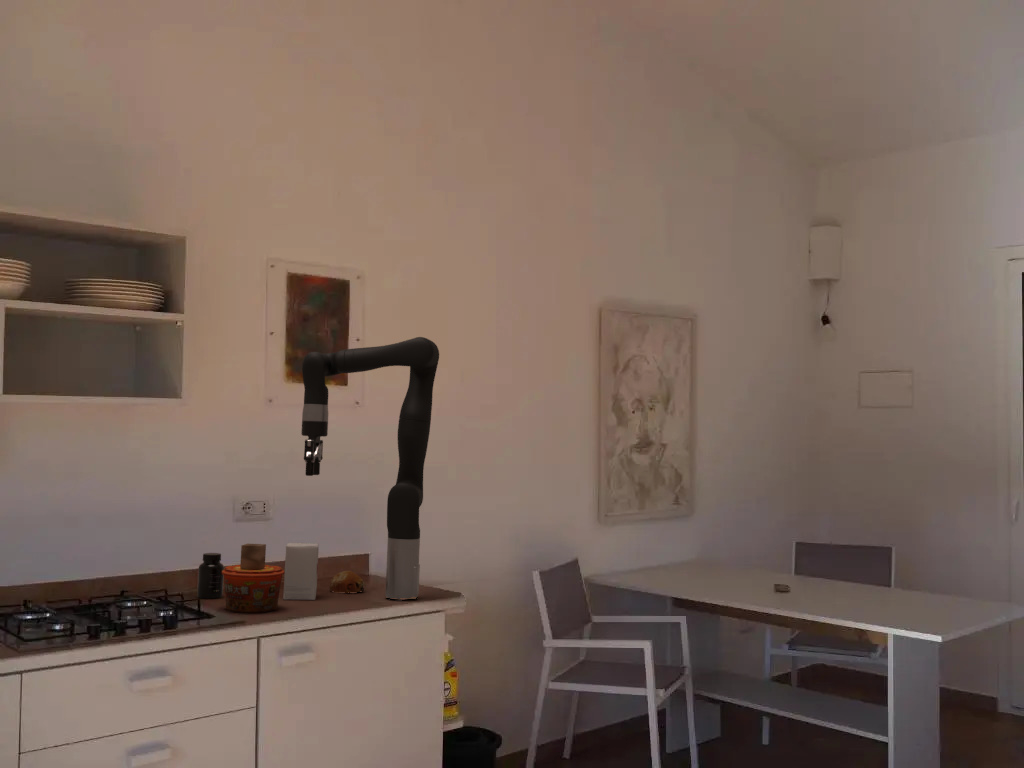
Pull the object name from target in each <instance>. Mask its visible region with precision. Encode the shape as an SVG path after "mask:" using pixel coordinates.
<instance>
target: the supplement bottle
mask: <svg viewBox="0 0 1024 768" xmlns="http://www.w3.org/2000/svg"><path fill="white" fill-rule="evenodd" d="M202 561H203V562H202V563H200V564H199V566H198V573H197V574H198V576H197V590H196V591H197V593H196V594H197V598H199V599H201V600H216V599H221V598H222V597H223V595H224V575H222V571H223V570H224V569H225V566H224V564H222V563H221V561H222V554H221V553H219V552H206V553H203V554H202Z"/></svg>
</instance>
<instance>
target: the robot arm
mask: <svg viewBox="0 0 1024 768" xmlns="http://www.w3.org/2000/svg"><path fill="white" fill-rule="evenodd" d="M438 347H439V346H437V343H435V342H433V340H431V339H429V338H426V337H423V336H418V337H413V338H411V339H406V340H404V341H399V342H396V343H392V344H385V345H380V346H367V347H356V348H348V349H341V350H338V351H335V352H328V353H324V352H319V351H310V352H308V353H307V354H305V356H304V357H303V360H302V366H301V367H302V368H301V371H302V373H301V374H302V381H303V385H304V395H303V408H302V413H301V436H303V437H308V438H307V439H305V440H304V452H303V461H304V462H305V474H304V475H305V476H308V477H309V476H310V477H313V476H320V474H321V473H320V471H321V462H322V460H323V453H324V452H323V447H324V440H323V439H321V437H328V428H329V387H328V386H327V385H326V377H331V376H337V375H340V374H353V373H361V372H368V371H373V370H376V369H381V368H386V367H396V366H398V367H409V380H408V381H409V383H408V387H407V390H406V394H405V397H404V398H403V401H402V405H401V407H400V412H399V416H398V417H399V418H398V425H397V450H398V461H399V462H398V471H397V476H396V480H395V481H396V482H395V484H394V485H393V486H392V487H391V488H390V490H389V491H388V494H387V501H386V502H387V504H386V505H387V506H386V529H387V548H386V549H387V550H386V568H385V569H386V570H385V572H386V576H385V590H384V591H385V594H384V595H385V596H386V597H388V598H397V599H400V598H411V597H417V596H418V594H420V593H419V592H420V590H419V589H420V572H421V571H420V570H421V569H420V568H421V564H420V545H421V529H420V508H421V506H422V504H423V502H424V501H423V500H424V469H425V468H424V467H425V461H426V456H427V451H428V445H429V439H430V438H429V437H430V432H431V431H430V430H431V424H432V423H431V421H432V411H433V393H434V392H433V391H434V383H435V379H436V373H437V369H438V365H439V360H440V351H439V348H438ZM385 596H384V597H385Z"/></svg>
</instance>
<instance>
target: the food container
mask: <svg viewBox="0 0 1024 768" xmlns="http://www.w3.org/2000/svg"><path fill="white" fill-rule="evenodd" d="M222 575H224V579H223V585H224V595H225V596H224V597H225V609H226V610H227V611H229V612H233V613H239V614H259V613H268V612H273V611H275V610H277V608H278V603H279V596H280V591H281V586H282V585H281V584H282V578H283V576H284V575H285V569H283V568H282V567H281V566H278V565H270V564H265V567H264V568H262V569H260V570H258V569H240V564H235V565H227V566H226V567H225V566H224V570H223V571H222Z"/></svg>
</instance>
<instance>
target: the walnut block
mask: <svg viewBox="0 0 1024 768" xmlns="http://www.w3.org/2000/svg"><path fill="white" fill-rule="evenodd" d="M240 546H241V549H240V564H239V565H240V569H258V570H260V569H262V568H264V567H265V565H266V552H267V551H266V550H267V549H266V548H267V544H265V543H244V544H242V545H240Z"/></svg>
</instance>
